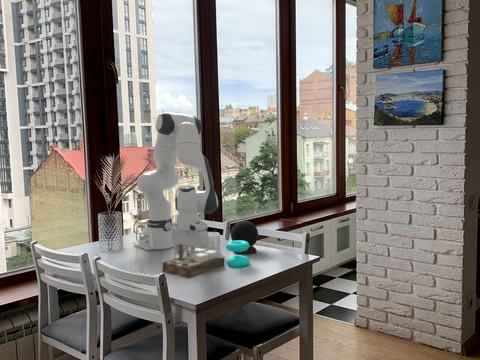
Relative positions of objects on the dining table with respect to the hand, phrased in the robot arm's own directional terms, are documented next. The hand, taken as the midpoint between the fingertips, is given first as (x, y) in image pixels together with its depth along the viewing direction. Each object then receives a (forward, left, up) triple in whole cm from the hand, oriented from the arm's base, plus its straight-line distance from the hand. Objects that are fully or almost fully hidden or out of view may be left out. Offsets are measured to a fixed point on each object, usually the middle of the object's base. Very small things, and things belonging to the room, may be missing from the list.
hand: (189, 255), depth 217 cm
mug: (-4, +18, -5) cm, 20 cm away
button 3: (0, +6, -2) cm, 6 cm away
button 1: (0, 0, -4) cm, 4 cm away
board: (+3, -1, -5) cm, 6 cm away
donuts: (+15, +14, -5) cm, 21 cm away
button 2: (+7, 0, -2) cm, 7 cm away
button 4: (+7, +6, -2) cm, 9 cm away
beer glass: (-14, +7, -5) cm, 17 cm away
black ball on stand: (+3, +33, -5) cm, 34 cm away
